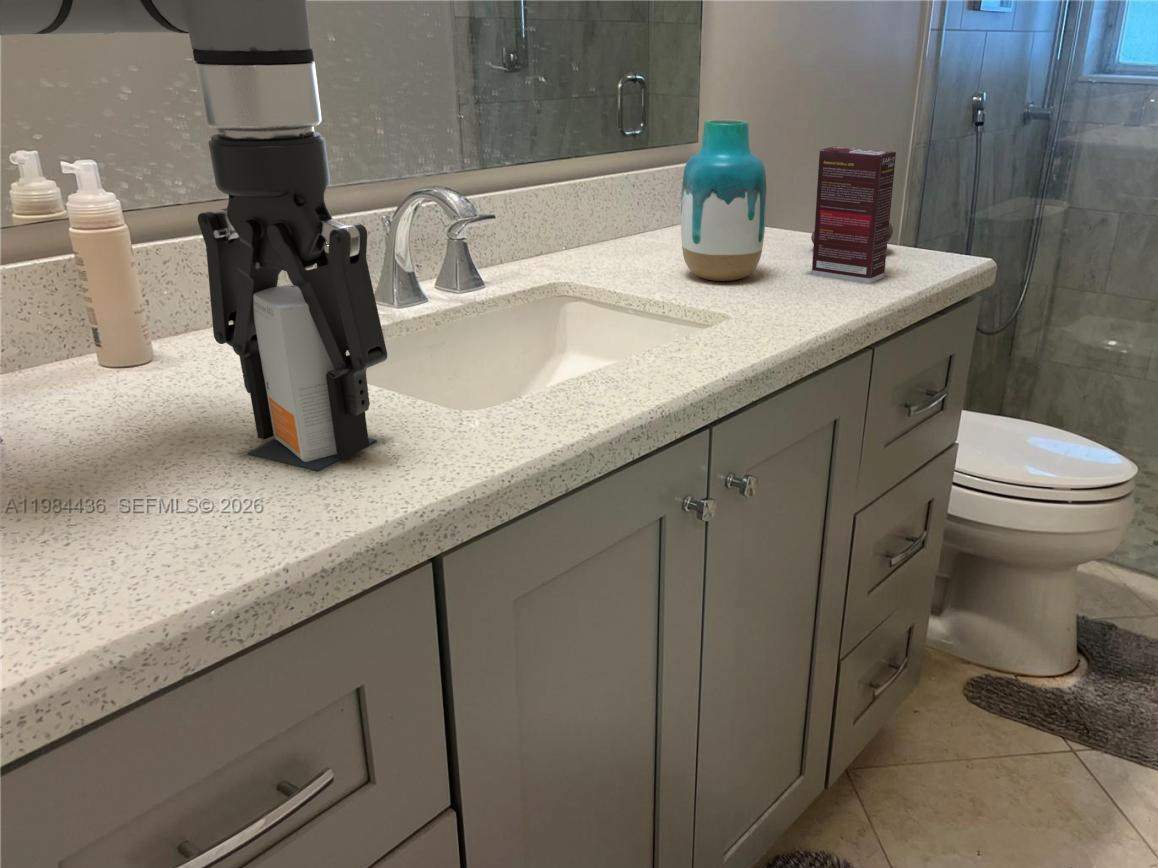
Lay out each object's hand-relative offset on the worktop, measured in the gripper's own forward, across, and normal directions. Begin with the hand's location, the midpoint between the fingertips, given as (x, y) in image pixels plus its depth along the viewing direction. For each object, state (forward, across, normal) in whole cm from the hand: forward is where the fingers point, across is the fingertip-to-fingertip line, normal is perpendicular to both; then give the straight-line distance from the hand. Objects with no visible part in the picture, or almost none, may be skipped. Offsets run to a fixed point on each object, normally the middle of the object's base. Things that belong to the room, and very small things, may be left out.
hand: (313, 441), depth 81 cm
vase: (+1, -6, -67) cm, 67 cm away
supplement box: (+1, -20, -76) cm, 78 cm away
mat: (+1, 0, 0) cm, 1 cm away
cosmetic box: (+1, 0, 0) cm, 1 cm away
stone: (+1, -16, -90) cm, 91 cm away
